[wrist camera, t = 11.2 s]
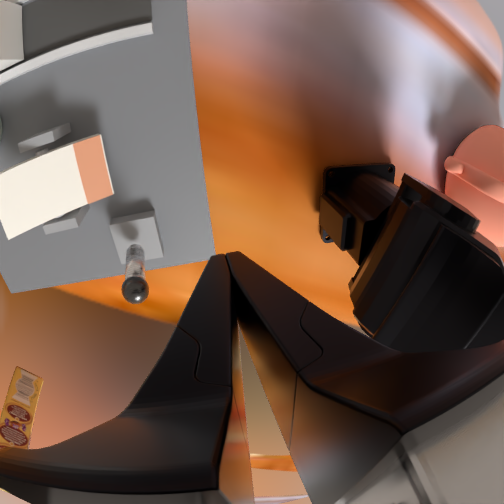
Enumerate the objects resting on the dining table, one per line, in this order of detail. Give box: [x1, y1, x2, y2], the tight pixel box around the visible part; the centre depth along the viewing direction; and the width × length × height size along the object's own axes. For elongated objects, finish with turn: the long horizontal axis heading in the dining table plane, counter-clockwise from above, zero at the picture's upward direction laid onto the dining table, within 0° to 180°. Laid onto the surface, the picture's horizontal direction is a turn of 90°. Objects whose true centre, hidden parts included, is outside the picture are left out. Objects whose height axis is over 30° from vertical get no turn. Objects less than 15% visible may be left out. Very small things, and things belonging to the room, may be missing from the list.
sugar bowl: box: [444, 125, 504, 246], centre depth 21 cm, size 12×14×10 cm
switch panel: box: [0, 0, 216, 293], centre depth 14 cm, size 18×23×5 cm
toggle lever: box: [122, 244, 149, 304], centre depth 17 cm, size 2×2×4 cm
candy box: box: [0, 366, 43, 493], centre depth 22 cm, size 9×4×15 cm, turn 142°
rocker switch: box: [0, 134, 114, 240], centre depth 14 cm, size 7×4×1 cm, turn 94°
